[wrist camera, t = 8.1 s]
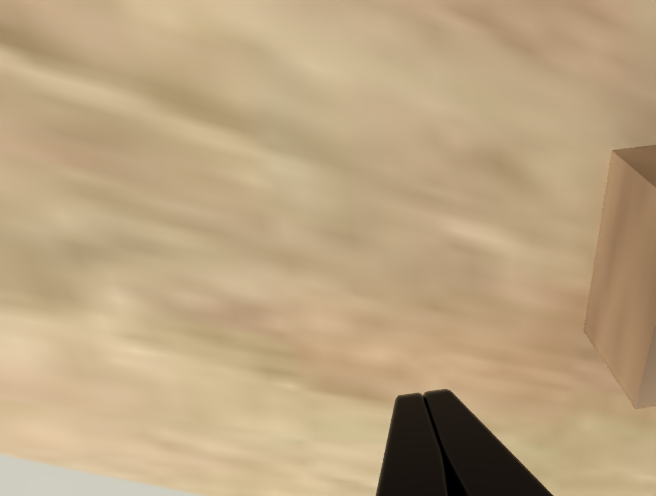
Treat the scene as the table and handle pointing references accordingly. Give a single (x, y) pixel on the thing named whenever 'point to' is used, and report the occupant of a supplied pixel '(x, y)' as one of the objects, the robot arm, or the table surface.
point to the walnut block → (627, 276)
